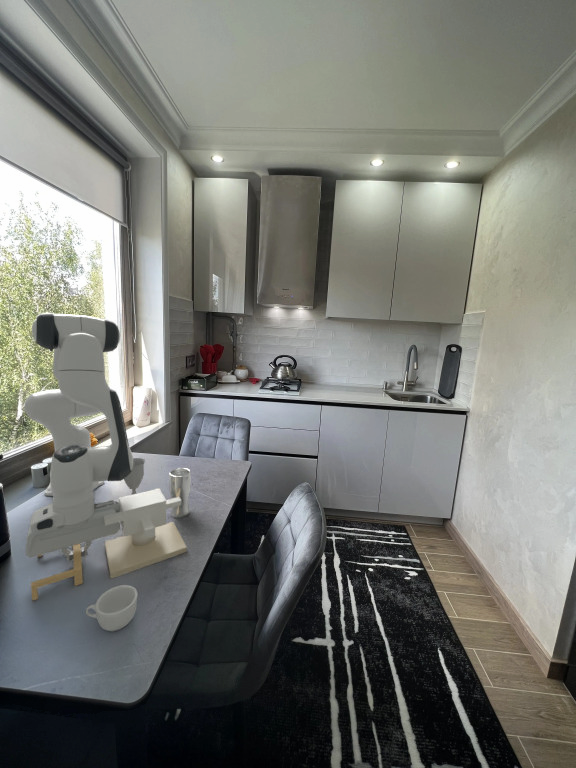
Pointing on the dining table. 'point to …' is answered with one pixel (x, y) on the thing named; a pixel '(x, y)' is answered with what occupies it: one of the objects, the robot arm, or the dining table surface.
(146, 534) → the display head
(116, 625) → the teacup
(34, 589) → the tan open angular frame
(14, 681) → the dining table surface
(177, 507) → the beer glass
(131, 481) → the chalice
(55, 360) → the robot arm
